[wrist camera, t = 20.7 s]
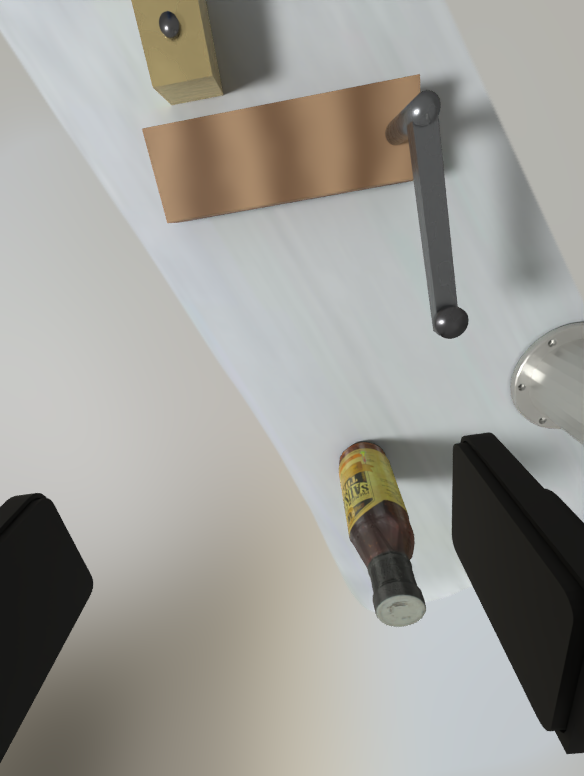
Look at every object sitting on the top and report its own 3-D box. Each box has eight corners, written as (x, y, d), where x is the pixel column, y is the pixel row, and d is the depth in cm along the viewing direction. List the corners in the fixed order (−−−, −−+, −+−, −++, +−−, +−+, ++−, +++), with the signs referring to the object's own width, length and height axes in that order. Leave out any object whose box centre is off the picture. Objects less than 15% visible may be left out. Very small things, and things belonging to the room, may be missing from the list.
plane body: (410, 89, 33) (425, 73, 29) (412, 180, 35) (426, 176, 32) (153, 139, 34) (137, 129, 30) (175, 223, 37) (162, 223, 33)
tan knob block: (205, -2, 30) (188, -45, 25) (223, 95, 33) (211, 73, 28) (149, 9, 31) (122, -31, 26) (172, 105, 33) (151, 85, 28)
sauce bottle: (347, 433, 46) (382, 571, 28) (394, 446, 47) (458, 589, 29) (329, 475, 49) (351, 626, 31) (374, 487, 50) (421, 641, 32)
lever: (379, 123, 30) (406, 94, 23) (410, 114, 30) (446, 81, 23) (409, 318, 36) (438, 342, 29) (435, 311, 36) (469, 333, 29)
